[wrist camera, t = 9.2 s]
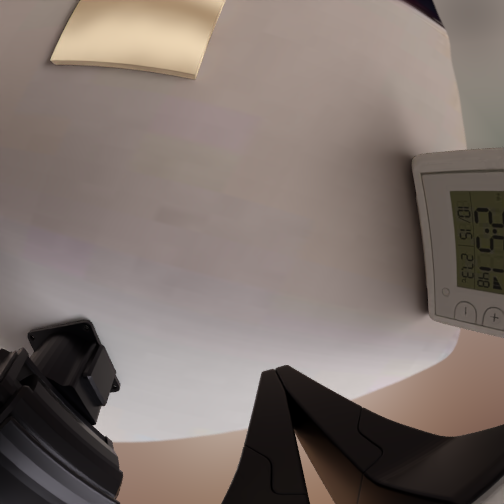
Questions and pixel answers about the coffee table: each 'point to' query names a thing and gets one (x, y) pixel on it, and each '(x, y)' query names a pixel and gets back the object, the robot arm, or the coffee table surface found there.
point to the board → (139, 35)
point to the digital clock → (463, 236)
